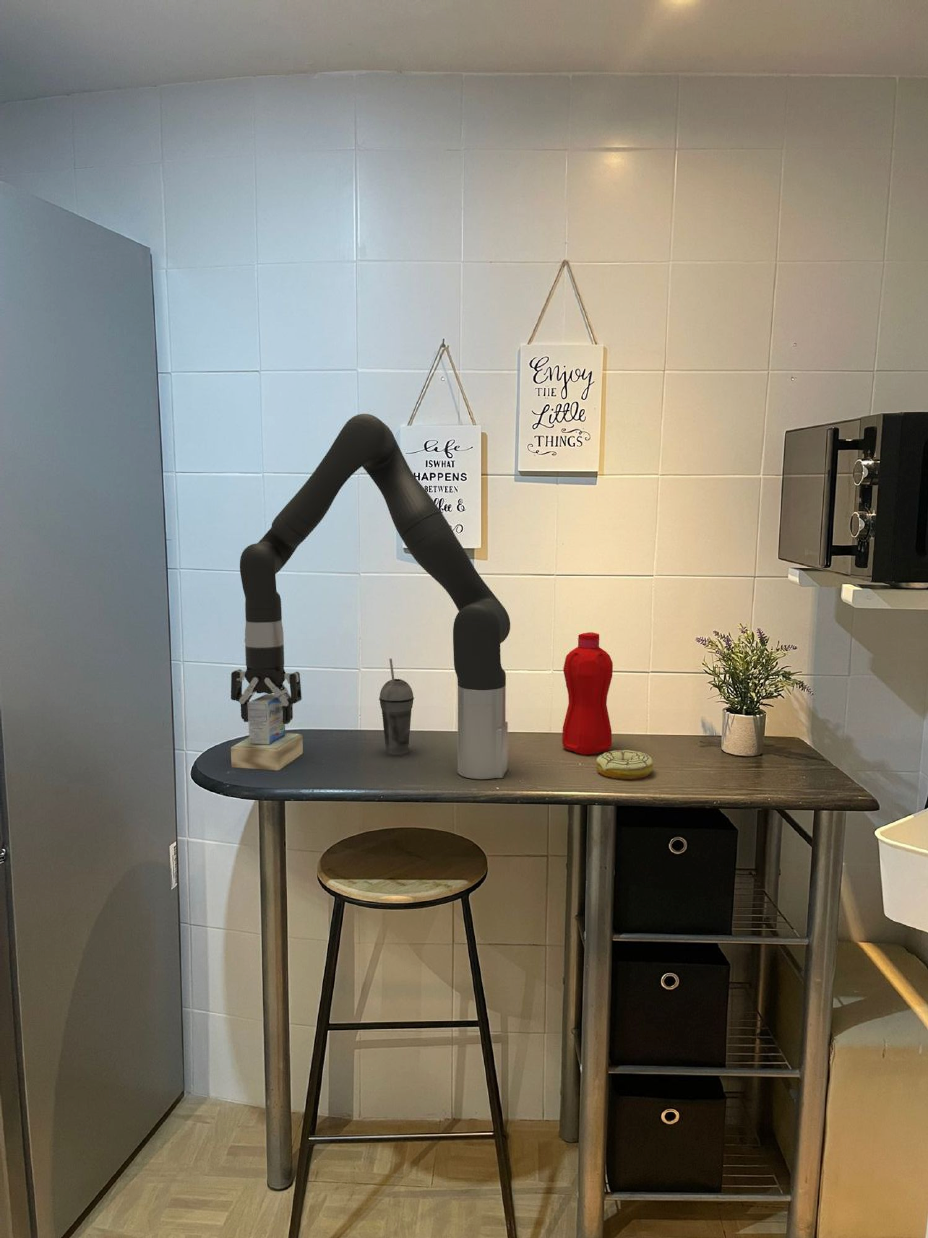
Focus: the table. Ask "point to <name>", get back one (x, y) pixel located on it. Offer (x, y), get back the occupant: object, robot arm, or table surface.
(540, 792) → the table surface
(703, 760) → the table surface
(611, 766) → the decorated donut
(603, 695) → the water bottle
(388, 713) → the beverage cup
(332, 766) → the table surface
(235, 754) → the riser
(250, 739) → the medicine box
